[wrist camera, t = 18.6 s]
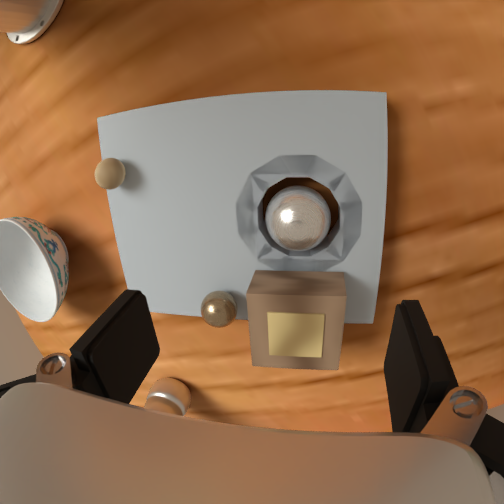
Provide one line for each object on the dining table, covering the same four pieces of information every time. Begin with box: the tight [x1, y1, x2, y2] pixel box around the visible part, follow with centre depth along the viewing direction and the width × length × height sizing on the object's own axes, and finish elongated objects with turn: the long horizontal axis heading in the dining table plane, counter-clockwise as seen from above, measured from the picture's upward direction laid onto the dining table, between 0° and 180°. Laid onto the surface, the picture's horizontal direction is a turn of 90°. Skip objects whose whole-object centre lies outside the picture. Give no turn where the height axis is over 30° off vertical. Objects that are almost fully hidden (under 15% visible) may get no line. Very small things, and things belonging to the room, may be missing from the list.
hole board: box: [97, 90, 388, 323], centre depth 32 cm, size 28×23×3 cm
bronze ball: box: [201, 291, 238, 328], centre depth 33 cm, size 4×4×4 cm
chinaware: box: [0, 217, 69, 322], centre depth 38 cm, size 15×15×8 cm
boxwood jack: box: [95, 158, 126, 190], centre depth 29 cm, size 3×3×3 cm
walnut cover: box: [246, 270, 347, 370], centre depth 31 cm, size 9×9×5 cm
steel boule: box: [265, 185, 331, 251], centre depth 30 cm, size 6×6×6 cm
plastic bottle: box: [144, 378, 191, 416], centre depth 38 cm, size 6×7×20 cm
